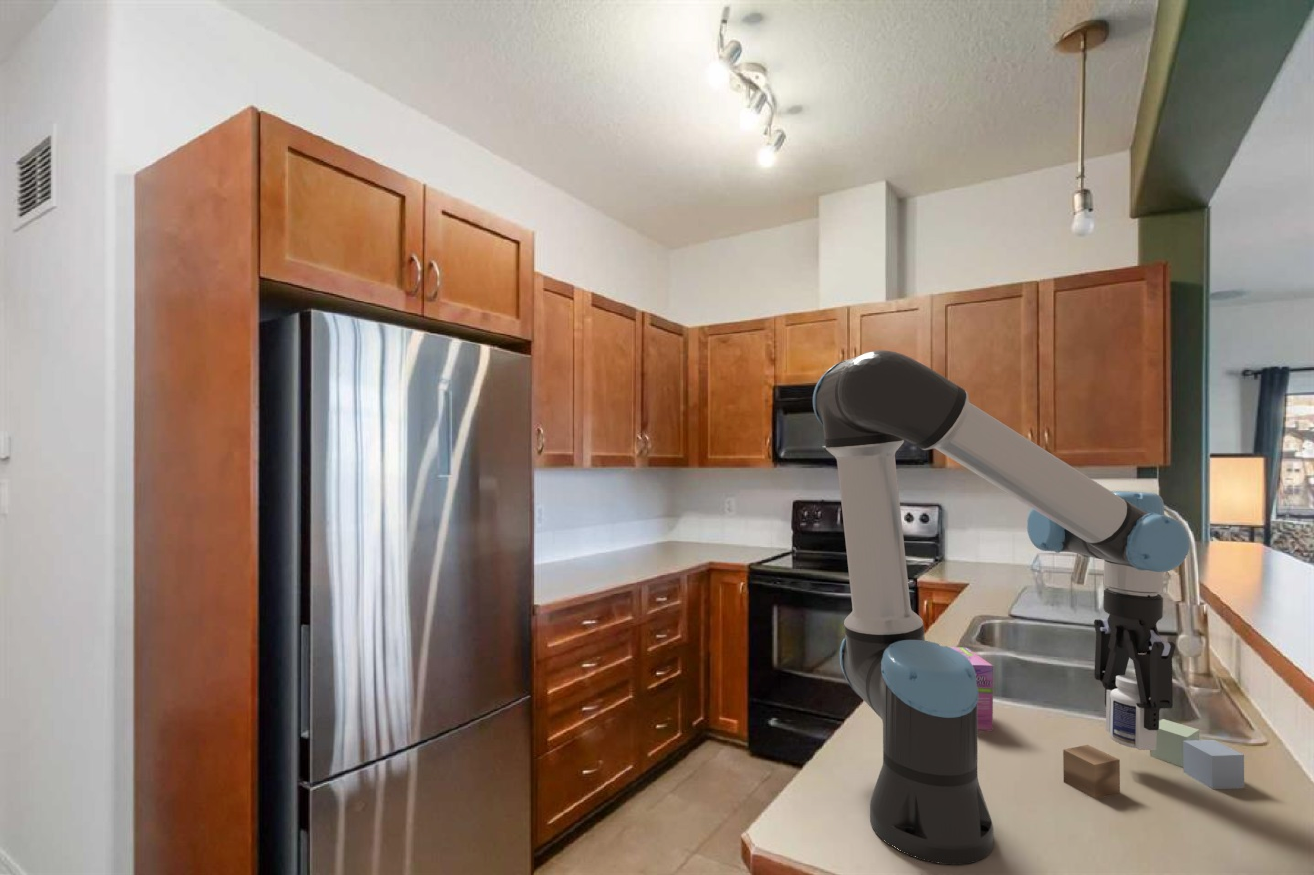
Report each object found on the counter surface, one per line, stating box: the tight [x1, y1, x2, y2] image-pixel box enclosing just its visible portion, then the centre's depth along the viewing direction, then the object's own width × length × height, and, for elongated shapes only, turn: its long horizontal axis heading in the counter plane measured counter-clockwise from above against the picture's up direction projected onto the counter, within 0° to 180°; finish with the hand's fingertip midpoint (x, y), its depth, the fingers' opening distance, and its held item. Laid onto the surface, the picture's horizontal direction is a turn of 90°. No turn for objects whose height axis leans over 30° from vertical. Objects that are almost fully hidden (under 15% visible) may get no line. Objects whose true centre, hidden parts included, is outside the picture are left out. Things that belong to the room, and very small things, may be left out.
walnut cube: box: [1062, 744, 1121, 800], centre depth 98 cm, size 5×5×5 cm
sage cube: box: [1149, 718, 1200, 768], centre depth 107 cm, size 5×5×5 cm
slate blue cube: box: [1182, 739, 1245, 790], centre depth 100 cm, size 5×5×5 cm
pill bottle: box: [1109, 674, 1150, 749], centre depth 103 cm, size 5×5×10 cm
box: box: [949, 646, 994, 732], centre depth 123 cm, size 10×6×12 cm, turn 179°
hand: (1130, 739), depth 103 cm, fingers closed on pill bottle, 5 cm apart
